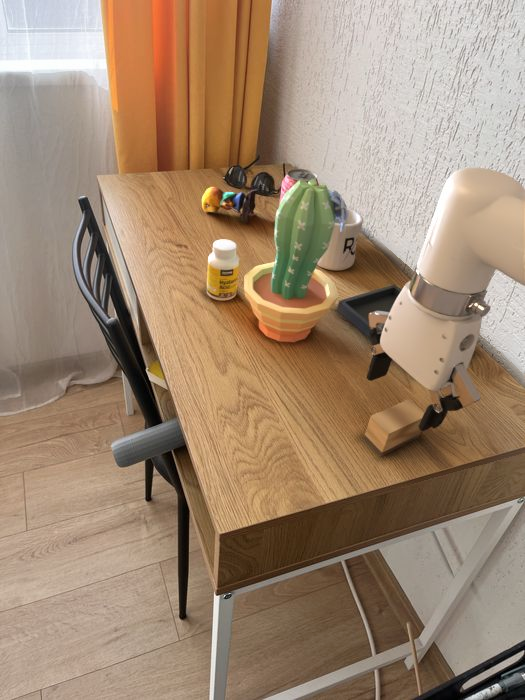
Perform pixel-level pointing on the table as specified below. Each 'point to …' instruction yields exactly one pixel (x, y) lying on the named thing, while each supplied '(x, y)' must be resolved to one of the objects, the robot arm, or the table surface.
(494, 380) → the table surface
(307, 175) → the beverage can
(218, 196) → the figurine
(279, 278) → the potted cactus
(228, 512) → the table surface
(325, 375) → the table surface
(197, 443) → the table surface
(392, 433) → the wooden block
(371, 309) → the tray
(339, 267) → the mug
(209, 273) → the supplement bottle
